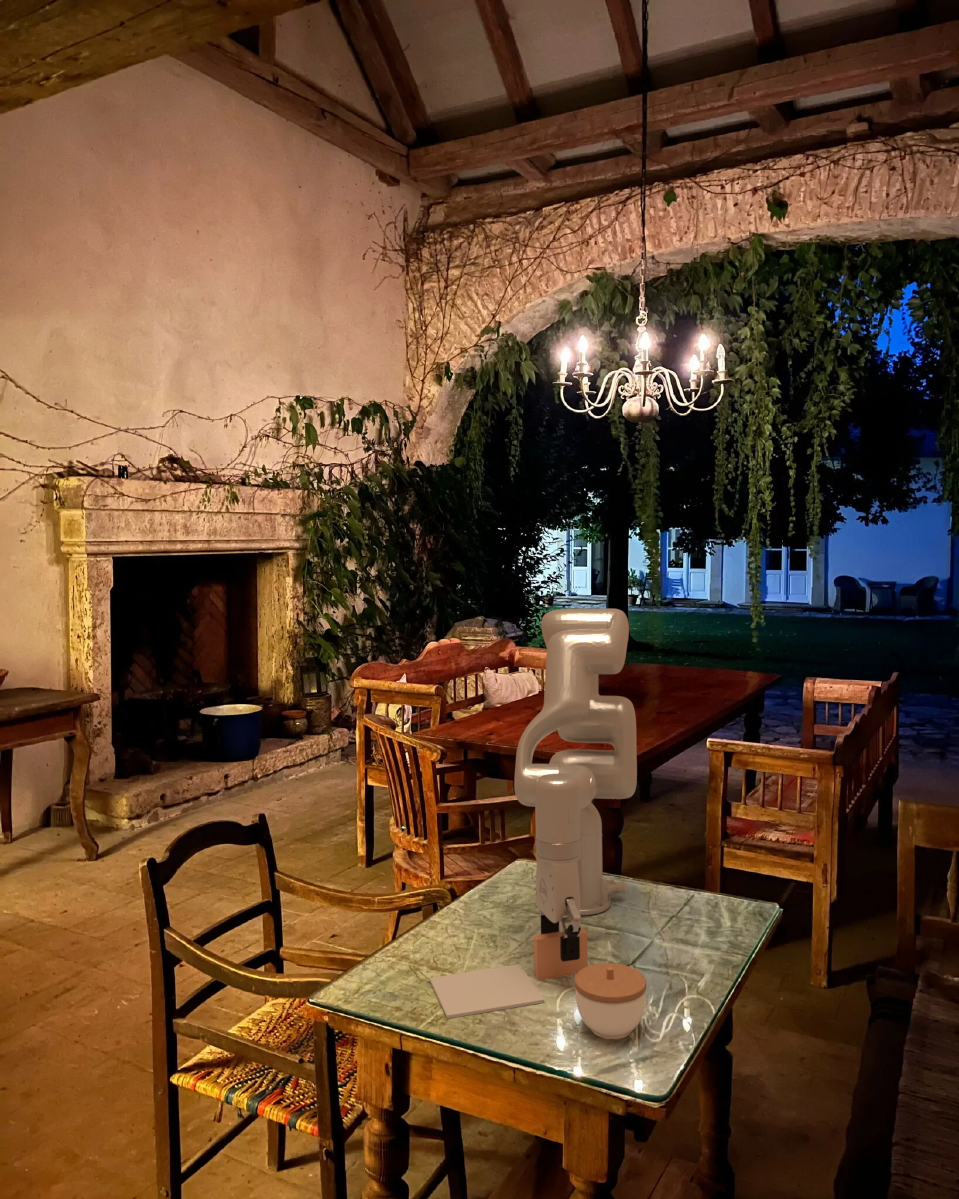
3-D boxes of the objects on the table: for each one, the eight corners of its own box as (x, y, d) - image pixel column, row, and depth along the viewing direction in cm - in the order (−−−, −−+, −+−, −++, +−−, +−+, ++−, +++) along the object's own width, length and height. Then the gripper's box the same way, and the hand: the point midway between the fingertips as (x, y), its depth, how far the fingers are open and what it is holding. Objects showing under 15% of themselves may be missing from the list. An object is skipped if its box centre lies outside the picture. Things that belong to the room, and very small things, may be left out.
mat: (519, 967, 160) (519, 964, 160) (544, 1002, 147) (544, 999, 147) (429, 980, 155) (429, 977, 155) (447, 1018, 143) (447, 1015, 143)
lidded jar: (562, 1034, 138) (561, 974, 137) (595, 1004, 146) (594, 946, 146) (628, 1056, 131) (627, 992, 131) (658, 1022, 140) (657, 963, 140)
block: (583, 967, 159) (582, 928, 159) (587, 972, 157) (586, 932, 157) (534, 975, 157) (533, 935, 156) (537, 980, 155) (536, 939, 154)
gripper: (521, 836, 163) (523, 931, 163) (554, 866, 146) (556, 972, 146) (561, 832, 165) (562, 926, 165) (598, 861, 148) (600, 966, 148)
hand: (559, 948), depth 156 cm, fingers open, 9 cm apart
